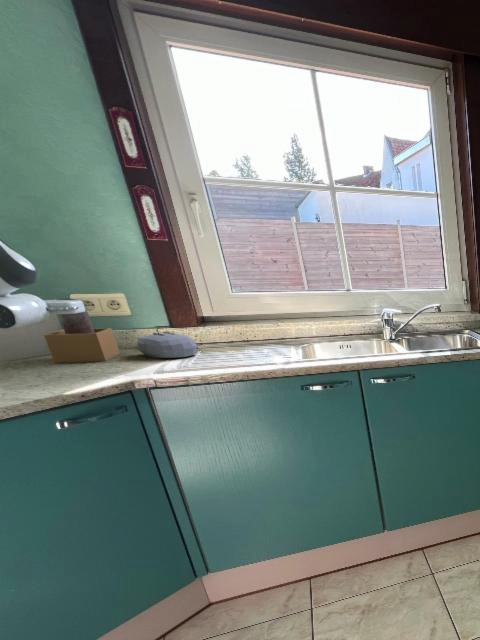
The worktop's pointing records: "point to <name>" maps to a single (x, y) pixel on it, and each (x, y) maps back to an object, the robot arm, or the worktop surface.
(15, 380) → the worktop surface
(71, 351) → the carton
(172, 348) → the grey rounded bag
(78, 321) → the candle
